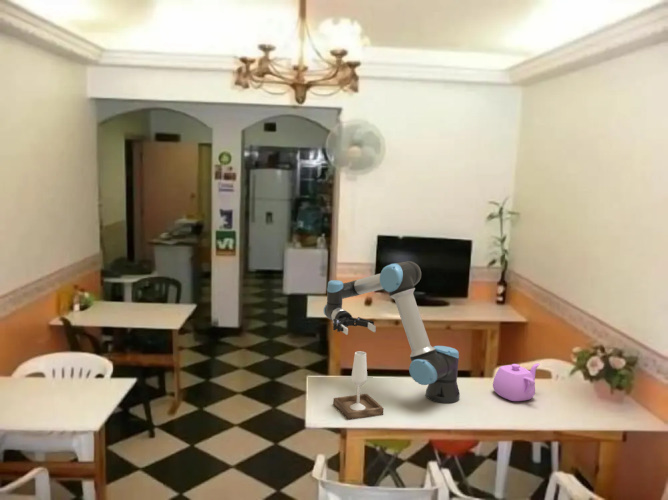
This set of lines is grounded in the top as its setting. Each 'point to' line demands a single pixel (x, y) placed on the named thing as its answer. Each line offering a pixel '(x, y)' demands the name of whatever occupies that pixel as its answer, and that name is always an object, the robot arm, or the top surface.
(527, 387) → the teapot
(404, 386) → the top surface
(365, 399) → the walnut tray
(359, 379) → the champagne flute
